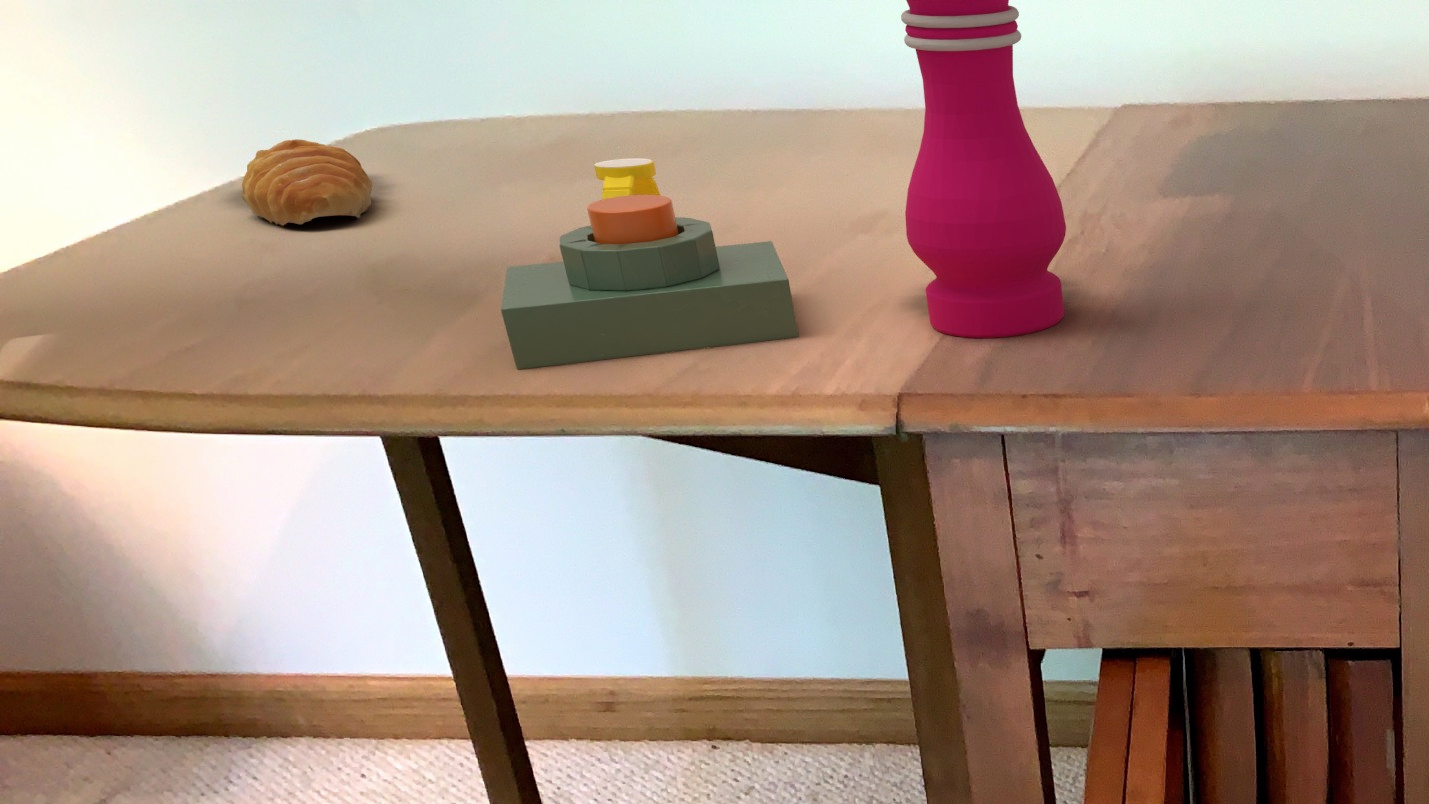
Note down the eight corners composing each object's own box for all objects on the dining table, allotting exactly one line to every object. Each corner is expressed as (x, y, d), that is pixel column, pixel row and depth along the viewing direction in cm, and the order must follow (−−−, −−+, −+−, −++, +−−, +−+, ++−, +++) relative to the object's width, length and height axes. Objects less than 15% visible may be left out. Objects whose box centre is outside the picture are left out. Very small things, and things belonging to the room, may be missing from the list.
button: (596, 255, 76) (586, 214, 75) (595, 237, 79) (586, 198, 78) (681, 246, 77) (673, 207, 76) (677, 230, 80) (669, 191, 79)
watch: (663, 297, 85) (635, 173, 82) (605, 299, 85) (575, 175, 82) (691, 267, 90) (666, 149, 87) (637, 269, 90) (610, 151, 87)
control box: (516, 370, 75) (488, 266, 72) (521, 324, 81) (495, 227, 79) (799, 337, 78) (780, 238, 76) (782, 295, 85) (765, 203, 83)
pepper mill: (913, 308, 83) (843, -162, 72) (1061, 294, 84) (1014, -166, 74) (927, 349, 77) (854, -157, 66) (1087, 332, 78) (1039, -161, 68)
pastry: (395, 220, 101) (375, 152, 99) (267, 238, 97) (244, 169, 95) (364, 194, 107) (344, 130, 105) (243, 210, 104) (220, 145, 102)
